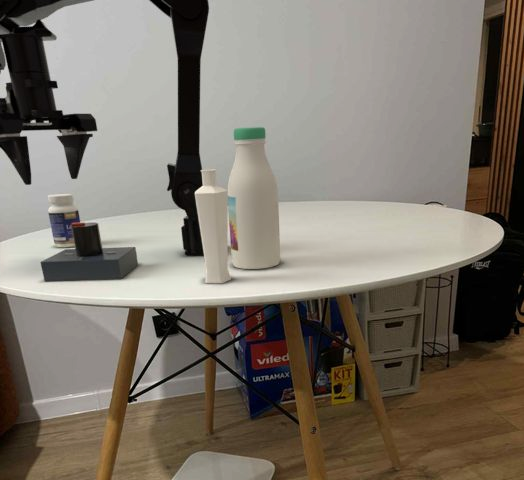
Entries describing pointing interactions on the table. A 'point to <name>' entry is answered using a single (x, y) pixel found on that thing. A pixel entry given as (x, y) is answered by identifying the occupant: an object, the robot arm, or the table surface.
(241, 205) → the milk bottle
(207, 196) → the perfume bottle
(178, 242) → the table surface
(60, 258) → the block
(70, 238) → the pill bottle
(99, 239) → the clamp knob
